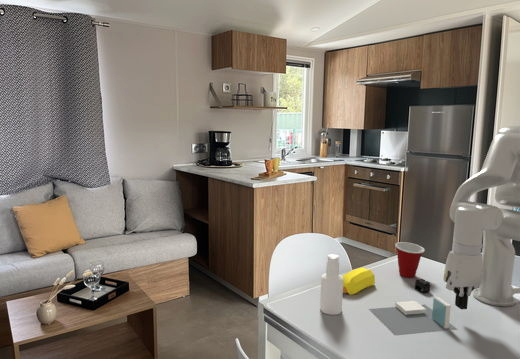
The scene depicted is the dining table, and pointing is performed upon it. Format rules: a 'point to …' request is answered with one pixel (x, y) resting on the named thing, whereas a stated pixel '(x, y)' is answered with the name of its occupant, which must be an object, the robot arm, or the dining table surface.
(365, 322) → the dining table surface
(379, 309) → the mat
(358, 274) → the yellow faceted bar
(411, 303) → the tile
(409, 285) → the dining table surface
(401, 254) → the plastic cup
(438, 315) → the tile
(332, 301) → the spray bottle
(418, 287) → the black slotted bracket
